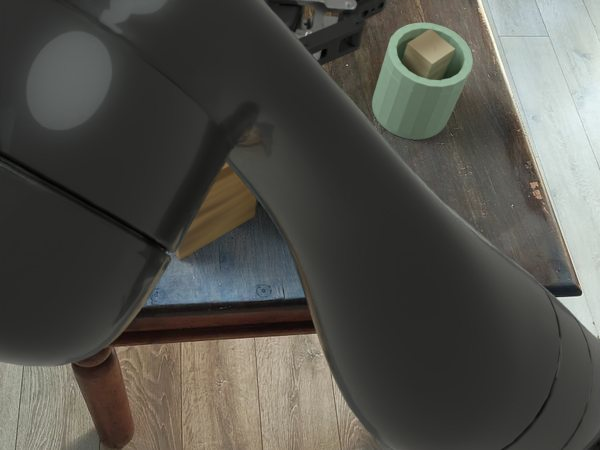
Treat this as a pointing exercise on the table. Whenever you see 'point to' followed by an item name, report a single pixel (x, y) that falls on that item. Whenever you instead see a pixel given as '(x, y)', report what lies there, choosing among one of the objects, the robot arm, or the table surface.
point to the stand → (219, 212)
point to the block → (428, 56)
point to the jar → (419, 86)
